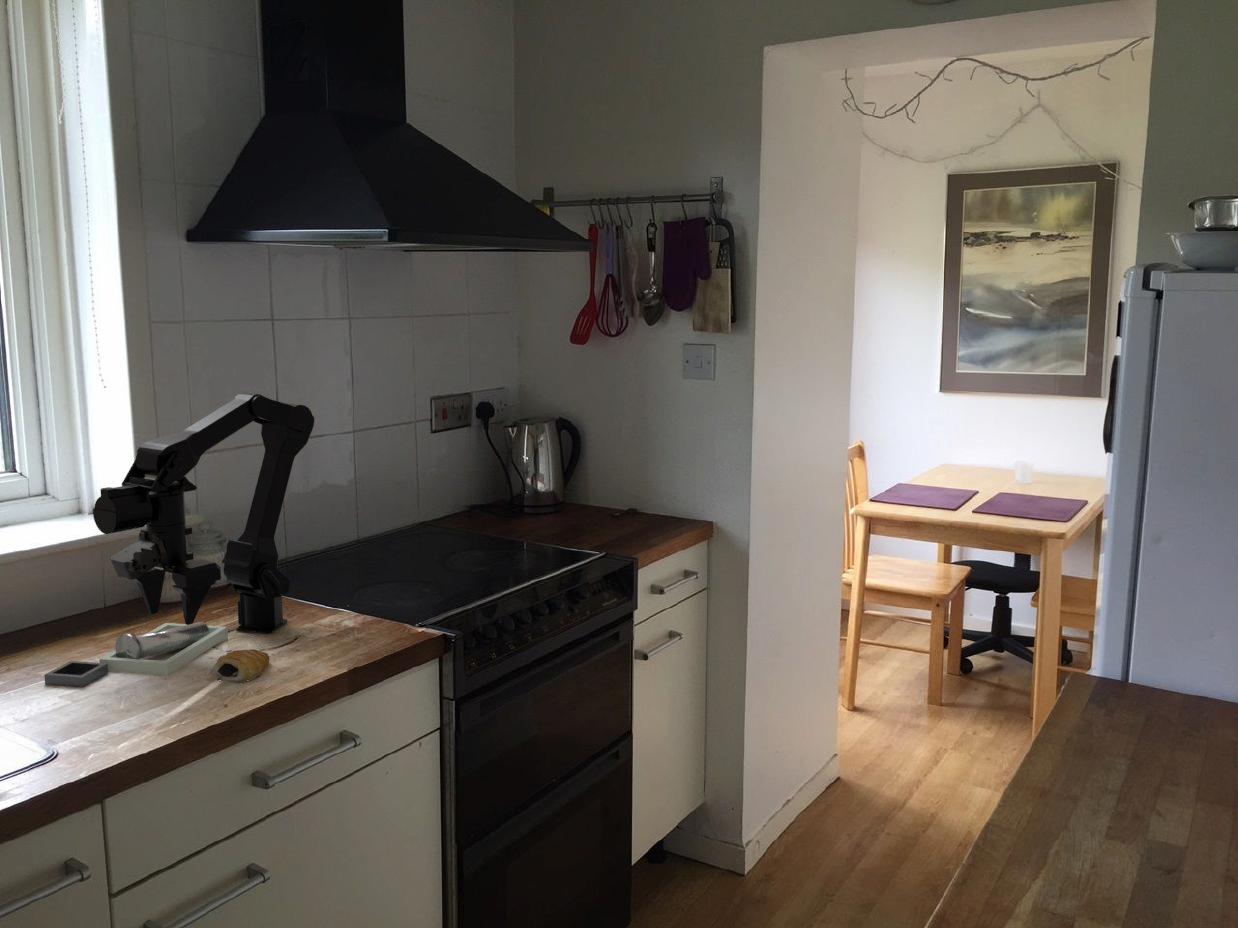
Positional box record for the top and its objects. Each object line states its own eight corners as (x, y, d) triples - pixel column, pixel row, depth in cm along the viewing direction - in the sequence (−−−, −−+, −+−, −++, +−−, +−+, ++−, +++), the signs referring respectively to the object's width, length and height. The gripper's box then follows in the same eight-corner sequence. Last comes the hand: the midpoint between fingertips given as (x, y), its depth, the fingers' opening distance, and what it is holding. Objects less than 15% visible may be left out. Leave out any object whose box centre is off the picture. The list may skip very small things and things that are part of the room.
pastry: (242, 661, 172) (242, 637, 172) (281, 665, 171) (280, 641, 170) (207, 681, 163) (206, 657, 163) (248, 686, 162) (247, 661, 161)
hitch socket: (108, 677, 164) (107, 663, 163) (83, 692, 158) (82, 677, 157) (71, 675, 165) (70, 660, 164) (45, 689, 159) (44, 674, 158)
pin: (207, 614, 177) (130, 630, 165) (215, 643, 176) (138, 661, 164) (189, 621, 179) (112, 638, 167) (196, 650, 179) (119, 668, 167)
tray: (228, 641, 181) (227, 626, 181) (168, 679, 163) (167, 663, 163) (166, 637, 183) (165, 622, 182) (100, 674, 165) (99, 658, 165)
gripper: (82, 523, 169) (89, 620, 171) (155, 540, 159) (161, 643, 161) (148, 511, 178) (153, 604, 180) (220, 526, 168) (225, 624, 170)
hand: (171, 618), depth 173 cm, fingers open, 9 cm apart
